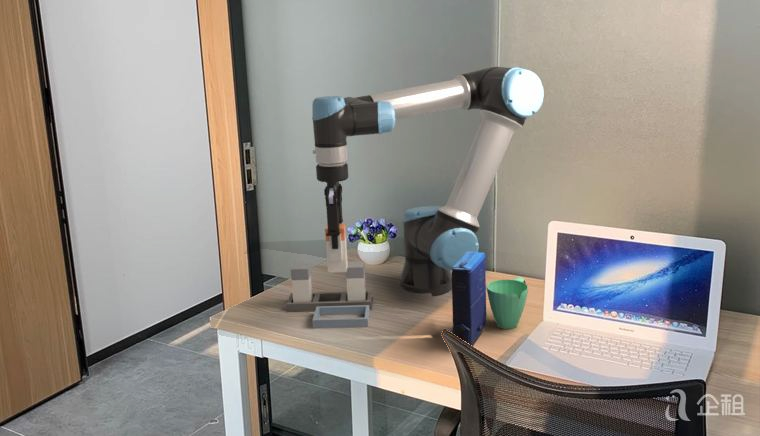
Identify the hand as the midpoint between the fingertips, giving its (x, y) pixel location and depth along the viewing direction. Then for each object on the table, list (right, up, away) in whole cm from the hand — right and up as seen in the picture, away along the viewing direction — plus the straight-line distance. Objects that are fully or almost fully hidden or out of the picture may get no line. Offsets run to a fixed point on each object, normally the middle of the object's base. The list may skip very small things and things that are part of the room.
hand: (337, 256), depth 167 cm
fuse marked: (0, -3, +1) cm, 3 cm away
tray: (+1, -17, +5) cm, 18 cm away
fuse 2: (+4, -13, +14) cm, 20 cm away
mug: (+43, -16, +2) cm, 46 cm away
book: (+32, -19, -6) cm, 37 cm away
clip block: (-3, -14, +15) cm, 21 cm away
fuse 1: (-10, -14, +15) cm, 23 cm away
